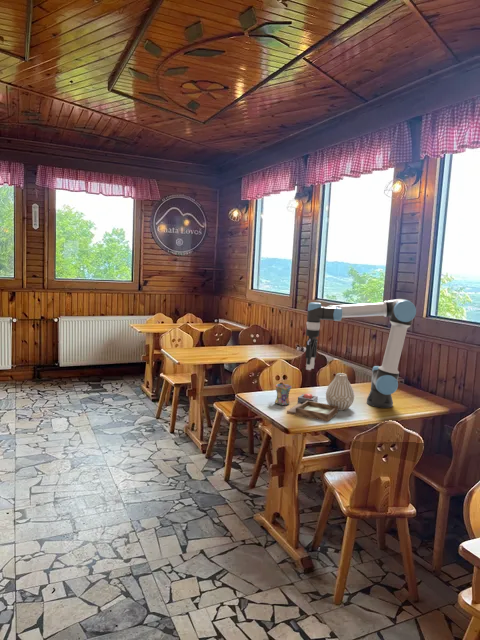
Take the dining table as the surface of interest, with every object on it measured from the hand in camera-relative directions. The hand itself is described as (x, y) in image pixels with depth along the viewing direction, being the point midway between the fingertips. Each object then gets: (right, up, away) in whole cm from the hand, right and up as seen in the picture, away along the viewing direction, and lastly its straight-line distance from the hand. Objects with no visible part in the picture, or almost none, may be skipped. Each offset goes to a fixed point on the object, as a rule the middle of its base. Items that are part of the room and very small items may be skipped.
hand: (310, 368), depth 272 cm
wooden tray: (-1, -23, -15) cm, 27 cm away
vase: (+16, -22, -3) cm, 28 cm away
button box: (-1, -21, +2) cm, 21 cm away
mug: (-17, -20, 0) cm, 26 cm away
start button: (-1, -19, +2) cm, 19 cm away
